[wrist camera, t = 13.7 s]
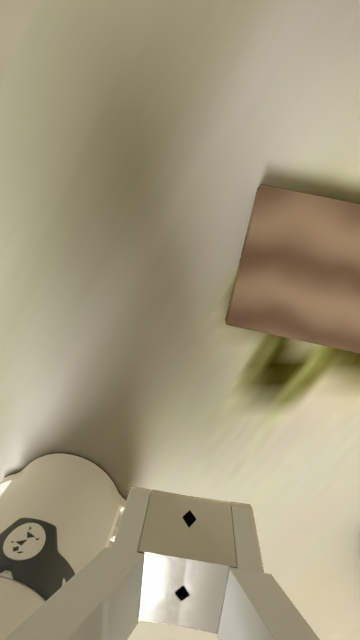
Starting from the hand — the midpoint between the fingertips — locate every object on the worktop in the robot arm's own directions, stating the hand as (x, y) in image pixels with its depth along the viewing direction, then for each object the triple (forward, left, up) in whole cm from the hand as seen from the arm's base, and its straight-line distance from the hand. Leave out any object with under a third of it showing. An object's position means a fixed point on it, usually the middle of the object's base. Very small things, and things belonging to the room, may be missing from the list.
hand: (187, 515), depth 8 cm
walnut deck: (+6, -11, -27) cm, 30 cm away
